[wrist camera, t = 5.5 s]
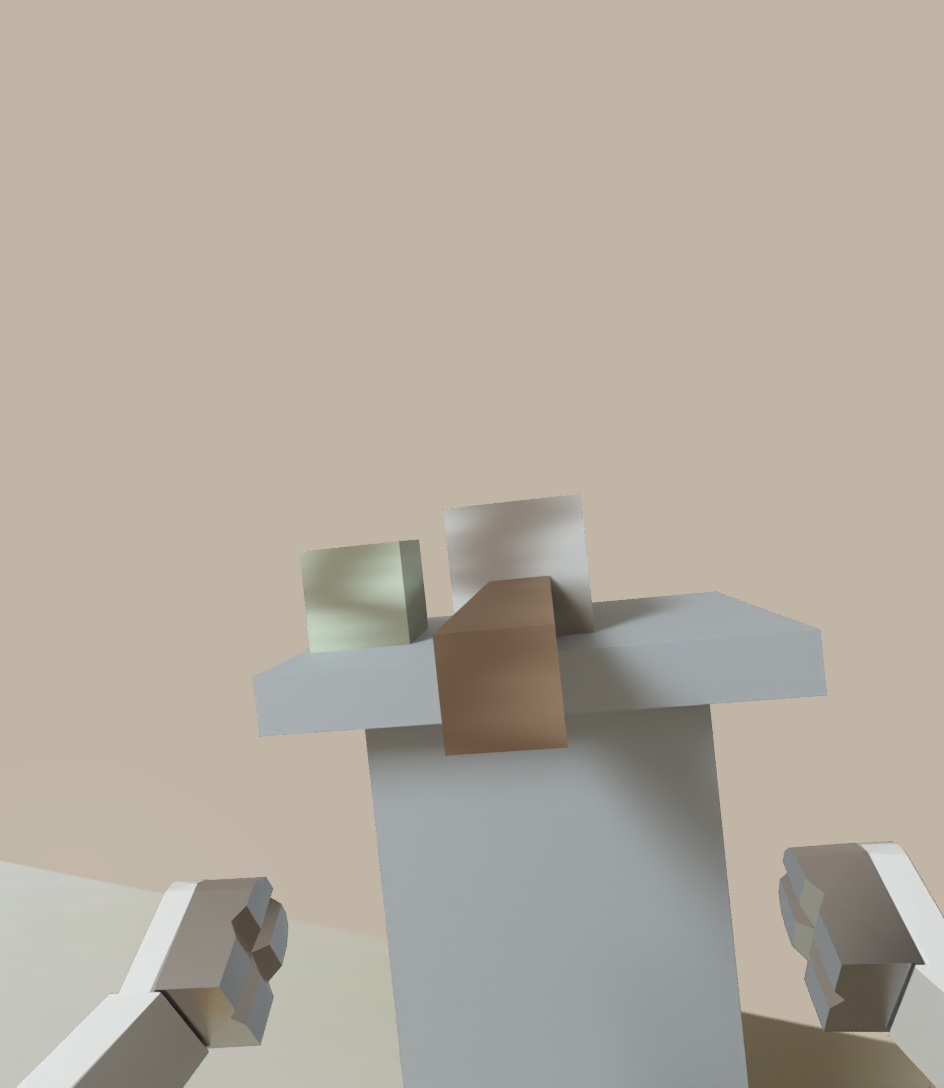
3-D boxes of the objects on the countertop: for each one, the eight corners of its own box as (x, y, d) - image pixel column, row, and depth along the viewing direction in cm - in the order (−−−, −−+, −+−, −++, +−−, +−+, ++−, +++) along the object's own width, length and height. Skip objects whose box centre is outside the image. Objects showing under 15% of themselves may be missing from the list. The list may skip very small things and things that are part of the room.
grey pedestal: (768, 1118, 32) (715, 591, 31) (904, 1474, 20) (820, 629, 19) (409, 1119, 34) (356, 624, 33) (336, 1442, 22) (252, 677, 22)
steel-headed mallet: (582, 606, 31) (571, 503, 31) (648, 742, 11) (619, 456, 11) (479, 615, 32) (468, 514, 32) (370, 760, 12) (340, 488, 12)
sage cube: (428, 628, 29) (418, 539, 29) (409, 644, 25) (398, 541, 25) (342, 636, 29) (332, 548, 29) (310, 652, 25) (299, 551, 25)
